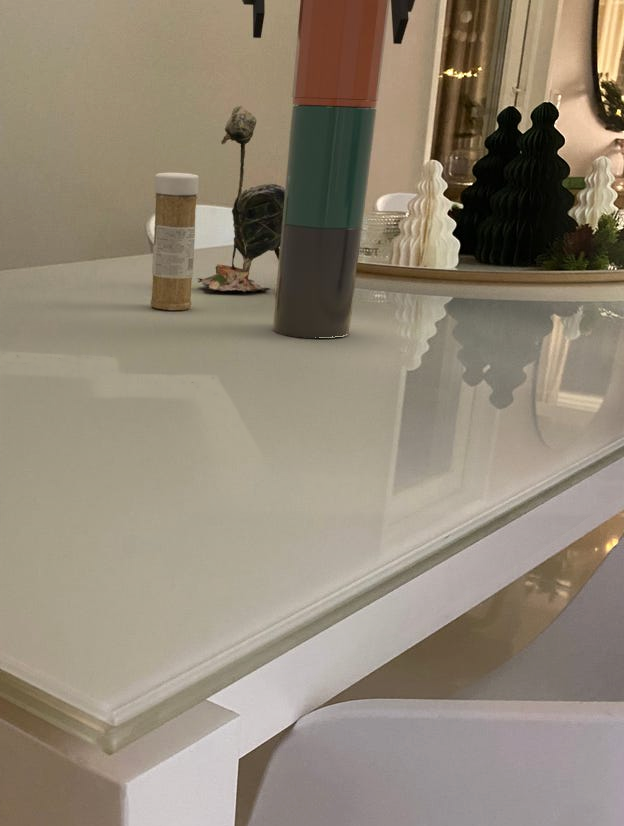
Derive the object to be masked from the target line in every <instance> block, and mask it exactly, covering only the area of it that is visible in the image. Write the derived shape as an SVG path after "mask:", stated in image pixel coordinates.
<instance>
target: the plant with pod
mask: <svg viewBox="0 0 624 826" xmlns="http://www.w3.org/2000/svg"><path fill="white" fill-rule="evenodd" d="M230 115H231V116H230V117H229V119H228V120H227V122H226V125H225V127H224V131H225V133H226V134H225V136H223V139H222V140H221V142H220V143H221V145H225V144H226V143H227V141H229V140H231V142H232V141H235V142H236V143H237V144H239V145H240V158H239V159H240V162H239V163H240V165H239V166H240V169H239V182H238V190H237V197H236V198H235V199H234V202H233V208H232V209H231V214H232V221H233V224H232V226H233V232H234V233H233V234H234V237H233V252H232V256H231V257H232V260H231V266H230V265H226V264H220V263H217V265H216V266H215V274H213V275H211V276H208V277H205V278H198V277H197V278H196V280H197V283H201V284H202V285H203V288H204V289H205V290H212V291H221V292H225V291H236V290H237V291H242V292H243V293H247V292H257V291H265V292H267V291H269V290H270V291H271V287H270V288H269V287H262V286H261V285H259V284H257V283H256V282H255V280H253V279H251V278H250V279H249V276H250V269H251V266H252V262H253V260H254V259H257V258H259V257H261V256H262V255H264V254H265V253H267V252H269V251H270V252H274V254H275V256H276V258H277V260H278V261H279V253H280V242H281V230H282V219H283V208H284V197H285V187H283V186H281V185H279V184H277V183H264V184H260V185H257V186H253V187H250V188H248V190H247V189H245V190H244V191H243V190H242V188H243V182H244V174H245V168H244V167H245V157H246V144H248V143H249V142H250V141H251V139H252V137H253V135H254V131H255V128H256V125H257V118H256V116H255V115H253V113H252V112H250V111H249V110H247V109H246V108H244V107H243V106H242V105H238V106H236V107H234V108H233V109H232V112H231V114H230ZM237 251H238V252H239V254H240V255H241V257H242V259H243V263H242V268H240V267H236V266H235V264H234V259H235V256H236V252H237Z"/></svg>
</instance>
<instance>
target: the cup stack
mask: <svg viewBox="0 0 624 826" xmlns="http://www.w3.org/2000/svg"><path fill="white" fill-rule="evenodd" d="M376 116H377V108H364V107H342V106H314V105H292V109H291V118H290V129H289V140H288V141H289V142H288V152H287V164H286V173H285V174H286V175H285V176H286V177H285V187H284V189H285V197H284V208H283V219H282V230H281V242H280V247H279V249H280V253H279V260H278V263H277V265H278V266H277V276H276V288H275V299H274V311H273V321H272V331H273V332H274V333H276V334H280V335H283V336H287V337H293V338H299V337H302V338H301V339H311V338H315V337H316V338H319V337H332V336H333V337H335V336H343V335H346V334H349V335H350V330H351V322H352V315H353V307H354V297H355V290H356V280H357V272H358V265H359V256H360V249H361V242H362V241H361V239H362V234H363V233H362V231H363V223H364V215H365V207H366V200H367V191H368V183H369V175H370V165H371V158H372V150H373V142H374V133H375V125H376Z"/></svg>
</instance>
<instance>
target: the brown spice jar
mask: <svg viewBox="0 0 624 826" xmlns="http://www.w3.org/2000/svg"><path fill="white" fill-rule="evenodd" d="M199 180H200V179H199V175H197V174H193V173H188V172H159V173H156V174H155V176H154V193H155V196H154V198H155V208H154V209H155V210H154V211H155V213H154V230H153V231H154V233H153V247H152V265H151V266H152V267H151V268H152V270H151V273H152V285H151V286H152V287H151V299H150V306H151V307H152V308H154V309H158V310H164V311H186V310H189V309H190V308H191V307H192V299H191V297H192V281H193V276H194V275H193V274H194V260H195V242H196V241H195V240H196V239H195V238H196V209H197V199H198V196H197V195H198V194H199V187H200V186H199V185H200V184H199V183H200V182H199Z"/></svg>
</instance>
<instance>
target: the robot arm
mask: <svg viewBox="0 0 624 826" xmlns="http://www.w3.org/2000/svg"><path fill="white" fill-rule="evenodd" d="M265 1H266V0H241V2H242V3H243V5H245V6H247V5H249V6H252V39H262V34H263V27H264V20H265V16H266V15H265V12H266V11H265V10H266V9H265V7H266V6H265V3H266V2H265ZM415 2H416V0H390V9H391V24H392V41H393V44H394V45H402V43H403V39H404V36H405V33H406V30H407V27H408V23H409V21H410V20H409V19H410V17H409V13H412V11H413V9H414V6H415V4H416V3H415Z"/></svg>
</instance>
